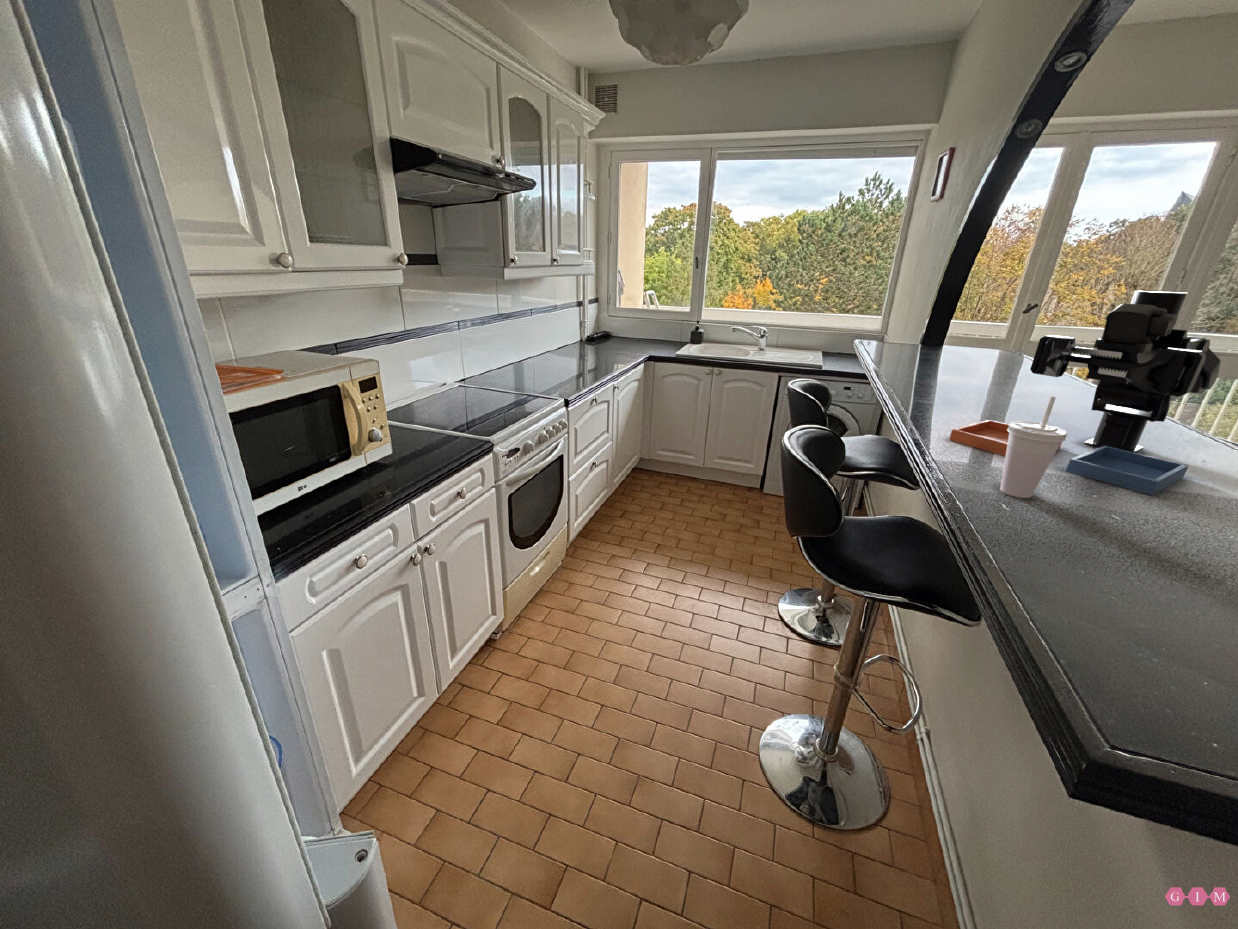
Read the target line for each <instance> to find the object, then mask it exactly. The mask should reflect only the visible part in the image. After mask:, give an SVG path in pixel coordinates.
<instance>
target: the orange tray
mask: <svg viewBox="0 0 1238 929" xmlns="http://www.w3.org/2000/svg"><path fill="white" fill-rule="evenodd" d="M1009 424H1010V423H1004V422H1001V421H996V420H993V419H986V420H982V421H978V422H975V423H971V424H967V425H963V426H959V427H956V428H952V429H951V432H950V436H949V439H948V440H949V441H952V442H955V443H958V444H962V445H965V446H969V447H973V448H976V449H980V450H982V451H987V452H990V453H993V454H997V455H1001V456H1004V457H1005V456H1006V450H1007V443H1008V438H1009V432H1008V431H1007V429H1008V427H1009ZM1062 444H1063V442H1061V443H1060V445H1059V447H1058V449H1057V450H1059V449H1061V446H1062Z"/></svg>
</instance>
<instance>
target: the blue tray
mask: <svg viewBox="0 0 1238 929" xmlns="http://www.w3.org/2000/svg"><path fill="white" fill-rule="evenodd" d="M1189 466H1190V465H1188V464H1185V463H1180V462H1176V461H1171V460H1168V459H1163V458H1158V457H1156V456H1150V455H1147V454H1142V453H1138V452H1136V453H1134V452H1130V451H1125V450H1121V449H1117V448H1113V447H1108V446H1102V447H1100V448H1098V447H1096V448H1095V449H1092V450H1090V451H1087V452H1085V453H1081V454H1080V455H1077V456H1074V457H1072V458H1070V459H1069V462H1068V464H1067V466H1066V468H1065V471H1066V472H1068V473H1071V474H1074V475H1078V476H1082V477H1086V478H1089V479H1092V480H1096V481H1099V482H1102V483H1103V482H1104V483H1107V484H1110V485H1114V486H1116V487H1117V486H1118V487H1121V488H1125V489H1128V490H1130V491H1131V490H1132V491H1135V492H1139V493H1142V494H1146V495H1149V496H1154V495H1155V494H1157V493H1159V492H1160V491H1163V490H1164V489H1166V488H1168V487H1170V486H1171V485H1173V484H1175V483H1176V482H1178V481H1180V480H1181V479H1183V478H1184V477H1185V474H1187V473H1186V472H1187V471H1188V469H1189Z"/></svg>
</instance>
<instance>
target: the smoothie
mask: <svg viewBox="0 0 1238 929" xmlns="http://www.w3.org/2000/svg"><path fill="white" fill-rule="evenodd" d="M1056 398H1057V397H1056V396H1050V397H1049V401H1048V403H1047V406H1046V409H1045V412H1044V415H1043V417H1042V420H1041V422H1034V421H1022V420H1020V421H1012V422H1010V423H1008V424H1009V427H1008V429H1007V431H1008V432H1009V438H1008V443H1007V450H1006V456H1004V463H1003V470H1002V476H1001V481H1000V488H999V490H1000V491H1001V492H1002V493H1004V494H1005V495H1008V496H1011V497H1015V498H1020V499H1029V498H1032V497H1033V495H1034V494H1035V492H1036V490H1037V488H1038V486H1039V484H1040V482H1041V480H1042V479H1043V477H1044V475H1045V473H1046V471H1047V469H1048V468H1049V466H1050V464H1051V462H1052V460H1053V459H1054V457H1055V455H1056V453H1057V451H1058V450H1059V449H1058V447H1059V445H1060V443H1061V442H1062V443H1063V442H1065V441H1066V438H1067V436H1068V432H1067V431H1066V430H1064V429H1063V428H1060V427H1057V426H1054V425H1050V424H1048V421H1049V418H1050V416H1051V412H1052V410H1053V407H1054V405H1055V401H1056Z"/></svg>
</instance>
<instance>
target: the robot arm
mask: <svg viewBox="0 0 1238 929" xmlns="http://www.w3.org/2000/svg"><path fill="white" fill-rule="evenodd" d="M1187 296H1188V292H1177V291H1151V290H1150V291H1149V290H1135V291H1134V293H1133V296H1132V299H1131V302H1130V303H1121V304H1119V305H1118V306H1117V307H1115V308H1114V309H1113V310H1111V311H1110V312H1108V314H1107V315H1106V317H1105V324H1104V328H1103V332H1102V334H1101V337H1100V338H1097V339H1095V342H1094V344H1093V348H1089V347H1088V348H1087V347H1080V346H1076V337H1070V336H1063V335H1052V334H1048V335H1044V336H1042V337H1040V338H1039V340H1038V344H1037V347H1036V351H1035V354H1034V356H1033V360H1032V362H1031V365H1030V371H1031V373H1032V374H1035V375H1041V376H1046V377H1053V378H1060V377H1063V376H1064V374H1065V372H1066V371H1067V369H1068V366H1069V363H1077V364H1085V365H1087V370H1088V372H1087V375H1086V379H1089V380H1090V379H1091V380H1096V381H1099V382H1098V383H1097V386H1096V388H1095V392H1094V397H1093V402H1092V404H1091V411H1097V412H1103V414H1102V417H1101V419H1100V421H1099V424H1098V425H1097V426H1098V427H1097V429H1096V431H1095V434H1094V436H1093V438H1091V439H1087V440H1085V441H1084V442H1083V444H1084V445H1086V446H1089V447H1094V448H1100V447H1102V446H1108V447H1113V448H1117V449H1121V450H1125V451H1130V452H1134V453H1138V452H1140V451H1143V450H1144V446H1142V445H1139V442H1140V439H1141V437H1142V435H1143V432H1144V430H1145V427H1146V425H1147V422H1152V423H1155V422H1165V421H1166V418H1167V416H1168V414H1169V411H1170V405H1171V401H1172V397H1177V398H1179V397H1182V396H1185V395H1188V394H1194V395H1202V394H1204V393H1205V392H1206V390H1209V391H1210V390H1211V389H1212V388H1213V387H1214V385H1215V384H1216V381H1217V379H1218V376H1219V373H1220V367H1221V362H1222V361H1221V358H1219V356H1217V355H1216V354H1215V353H1214V352H1213V351H1212V349H1210V346H1211V339H1208V338H1206V337H1200V336H1191V335H1188V330H1187V329H1176V328H1174V327H1175V326H1176V324H1177V321H1178V318H1179V315H1180V312H1181V310H1182V307H1183V305H1184V302H1185V300H1186V298H1187Z"/></svg>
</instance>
